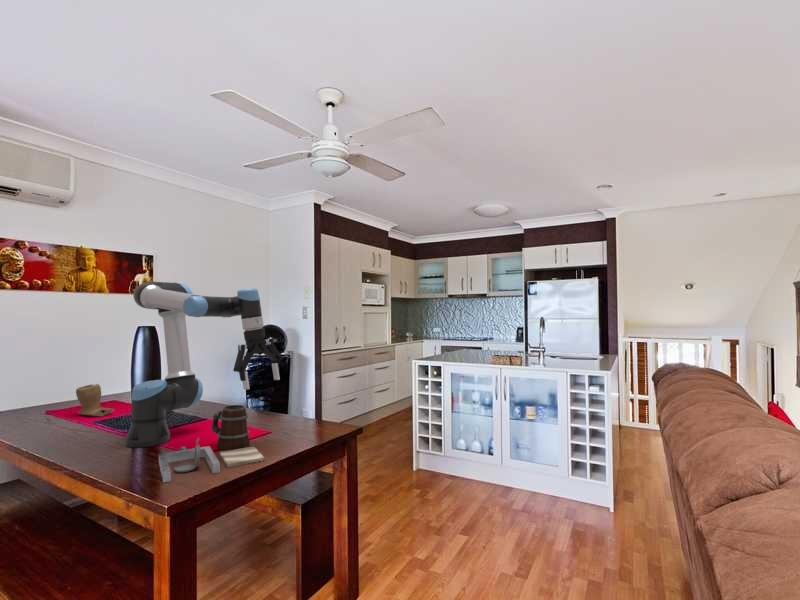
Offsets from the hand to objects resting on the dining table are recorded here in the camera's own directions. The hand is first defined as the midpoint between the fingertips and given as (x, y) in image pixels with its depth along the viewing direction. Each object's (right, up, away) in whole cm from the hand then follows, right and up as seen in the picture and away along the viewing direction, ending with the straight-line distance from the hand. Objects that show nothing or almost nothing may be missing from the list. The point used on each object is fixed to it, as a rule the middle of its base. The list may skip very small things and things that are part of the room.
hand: (262, 384), depth 161 cm
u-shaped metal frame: (-20, -24, -18) cm, 35 cm away
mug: (-14, -24, +3) cm, 28 cm away
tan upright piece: (-98, -25, +47) cm, 112 cm away
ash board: (-4, -24, -11) cm, 27 cm away
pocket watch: (-17, -24, -22) cm, 37 cm away
